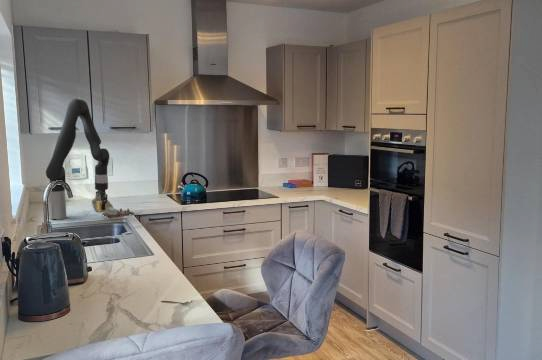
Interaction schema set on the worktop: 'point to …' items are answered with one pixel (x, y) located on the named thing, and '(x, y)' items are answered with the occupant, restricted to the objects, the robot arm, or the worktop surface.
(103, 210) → the jaw block
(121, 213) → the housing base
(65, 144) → the robot arm
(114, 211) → the keeper
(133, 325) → the worktop surface
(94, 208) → the fossil tooth
